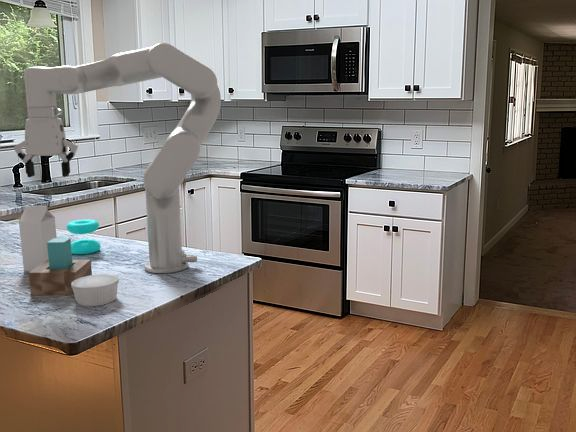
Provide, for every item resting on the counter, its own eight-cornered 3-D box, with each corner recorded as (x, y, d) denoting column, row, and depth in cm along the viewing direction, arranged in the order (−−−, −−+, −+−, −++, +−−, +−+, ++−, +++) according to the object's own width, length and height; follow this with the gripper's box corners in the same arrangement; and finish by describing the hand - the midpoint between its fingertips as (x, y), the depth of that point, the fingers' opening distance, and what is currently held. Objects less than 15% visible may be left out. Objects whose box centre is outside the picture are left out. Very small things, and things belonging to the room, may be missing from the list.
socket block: (92, 280, 170) (90, 259, 169) (77, 294, 159) (75, 272, 157) (49, 280, 171) (47, 260, 169) (30, 295, 159) (28, 272, 158)
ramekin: (65, 301, 154) (63, 280, 153) (105, 290, 162) (104, 271, 161) (86, 311, 146) (84, 290, 145) (128, 300, 154) (126, 280, 153)
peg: (74, 281, 166) (70, 238, 164) (68, 286, 162) (64, 242, 160) (57, 281, 167) (53, 238, 164) (51, 286, 162) (46, 242, 160)
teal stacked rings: (84, 217, 207) (105, 220, 201) (86, 246, 209) (107, 249, 203) (59, 222, 198) (80, 226, 193) (62, 253, 200) (83, 256, 195)
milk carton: (45, 272, 178) (39, 208, 174) (23, 271, 180) (17, 207, 176) (59, 266, 185) (53, 203, 181) (38, 265, 187) (32, 203, 183)
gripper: (79, 112, 171) (84, 174, 174) (17, 113, 171) (23, 174, 175) (69, 113, 163) (74, 177, 167) (4, 114, 164) (11, 178, 167)
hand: (48, 176), depth 171 cm, fingers open, 9 cm apart
